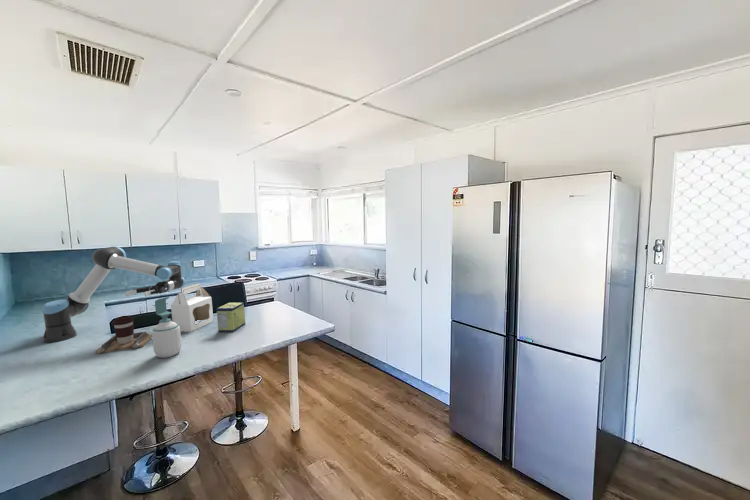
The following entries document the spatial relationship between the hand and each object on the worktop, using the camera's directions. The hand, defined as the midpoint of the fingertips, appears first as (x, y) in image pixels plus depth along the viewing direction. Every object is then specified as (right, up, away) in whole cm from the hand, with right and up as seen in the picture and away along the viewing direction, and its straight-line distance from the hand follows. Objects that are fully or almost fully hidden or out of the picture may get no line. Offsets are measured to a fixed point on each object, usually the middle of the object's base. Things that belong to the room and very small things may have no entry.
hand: (135, 294), depth 194 cm
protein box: (+51, -25, +16) cm, 59 cm away
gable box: (+22, -25, +24) cm, 41 cm away
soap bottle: (+35, -29, -23) cm, 51 cm away
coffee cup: (-1, -27, -7) cm, 28 cm away
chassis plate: (-1, -29, -7) cm, 29 cm away
